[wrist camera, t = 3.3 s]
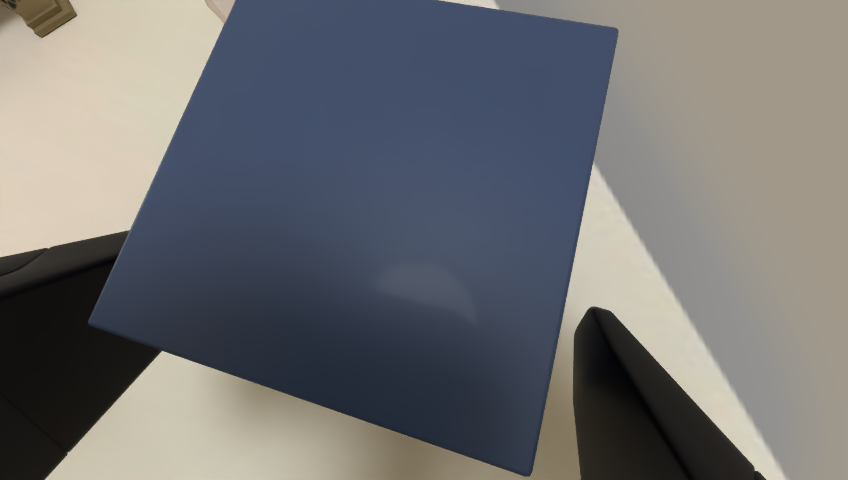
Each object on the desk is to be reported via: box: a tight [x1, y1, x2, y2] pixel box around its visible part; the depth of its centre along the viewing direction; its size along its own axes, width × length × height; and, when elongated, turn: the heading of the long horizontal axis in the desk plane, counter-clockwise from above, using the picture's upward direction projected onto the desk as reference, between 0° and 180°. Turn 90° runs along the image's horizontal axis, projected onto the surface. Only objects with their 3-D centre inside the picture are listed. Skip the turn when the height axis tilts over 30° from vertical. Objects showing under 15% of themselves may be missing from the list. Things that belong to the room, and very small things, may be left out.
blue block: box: [88, 0, 618, 477], centre depth 10 cm, size 5×5×13 cm
